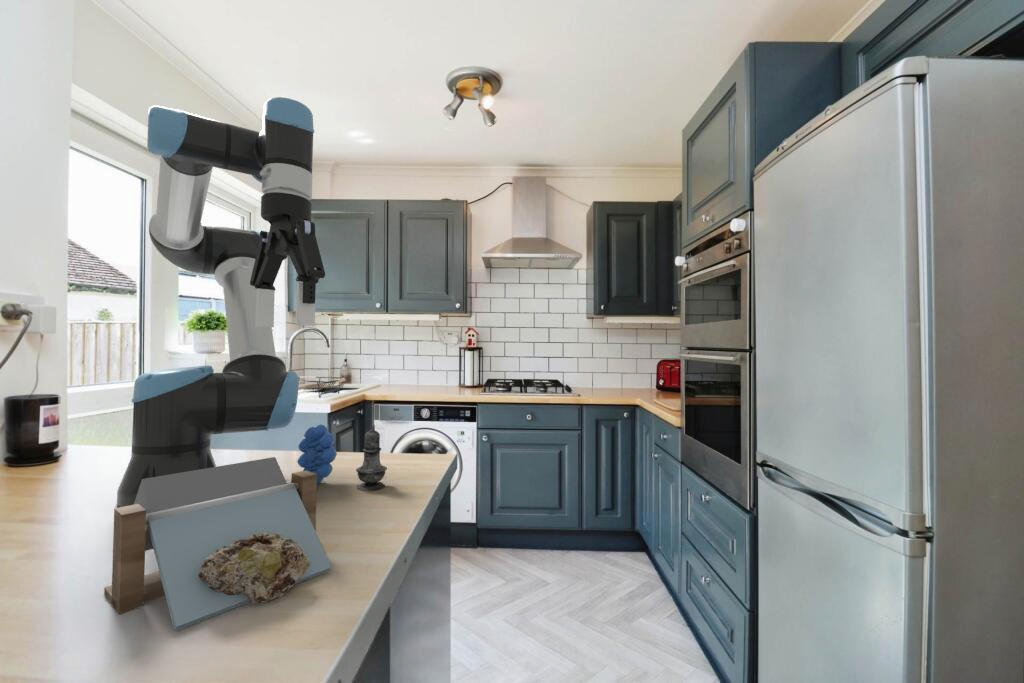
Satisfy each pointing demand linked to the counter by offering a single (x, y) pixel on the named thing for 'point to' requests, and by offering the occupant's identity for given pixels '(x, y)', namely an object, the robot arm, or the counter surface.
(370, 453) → the salt shaker
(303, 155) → the robot arm
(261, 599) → the mineral rock
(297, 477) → the frame
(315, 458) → the grapes
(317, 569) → the trapdoor
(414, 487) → the counter surface
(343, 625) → the counter surface
